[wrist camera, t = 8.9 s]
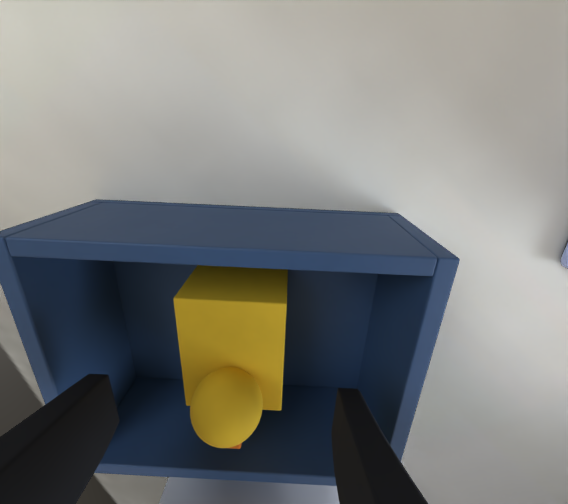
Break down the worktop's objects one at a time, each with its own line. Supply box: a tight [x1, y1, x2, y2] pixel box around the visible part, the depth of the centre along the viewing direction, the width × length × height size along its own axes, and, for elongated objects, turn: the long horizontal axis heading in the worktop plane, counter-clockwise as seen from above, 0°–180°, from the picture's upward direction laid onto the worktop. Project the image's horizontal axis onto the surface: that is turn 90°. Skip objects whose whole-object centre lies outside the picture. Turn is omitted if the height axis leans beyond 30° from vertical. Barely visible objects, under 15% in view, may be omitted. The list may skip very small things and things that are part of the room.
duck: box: [173, 265, 288, 449], centre depth 12 cm, size 4×6×6 cm
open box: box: [0, 200, 460, 486], centre depth 12 cm, size 13×10×5 cm
